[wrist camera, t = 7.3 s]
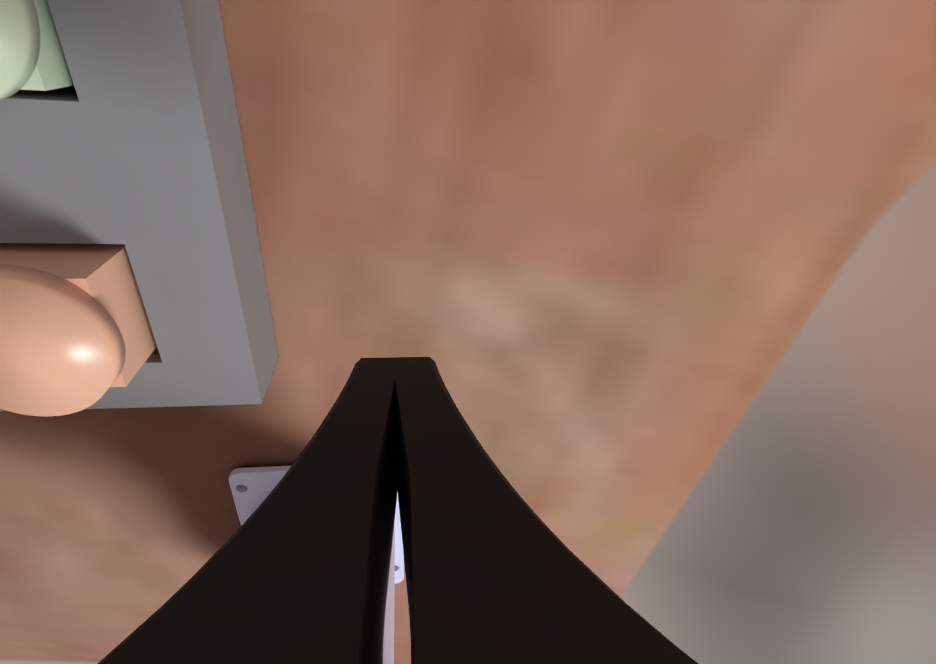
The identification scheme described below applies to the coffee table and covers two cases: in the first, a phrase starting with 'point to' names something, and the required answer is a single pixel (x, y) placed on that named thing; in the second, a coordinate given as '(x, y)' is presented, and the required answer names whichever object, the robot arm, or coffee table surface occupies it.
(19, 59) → the sage button
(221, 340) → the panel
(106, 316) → the terracotta button
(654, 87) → the coffee table surface
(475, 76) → the coffee table surface
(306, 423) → the coffee table surface
